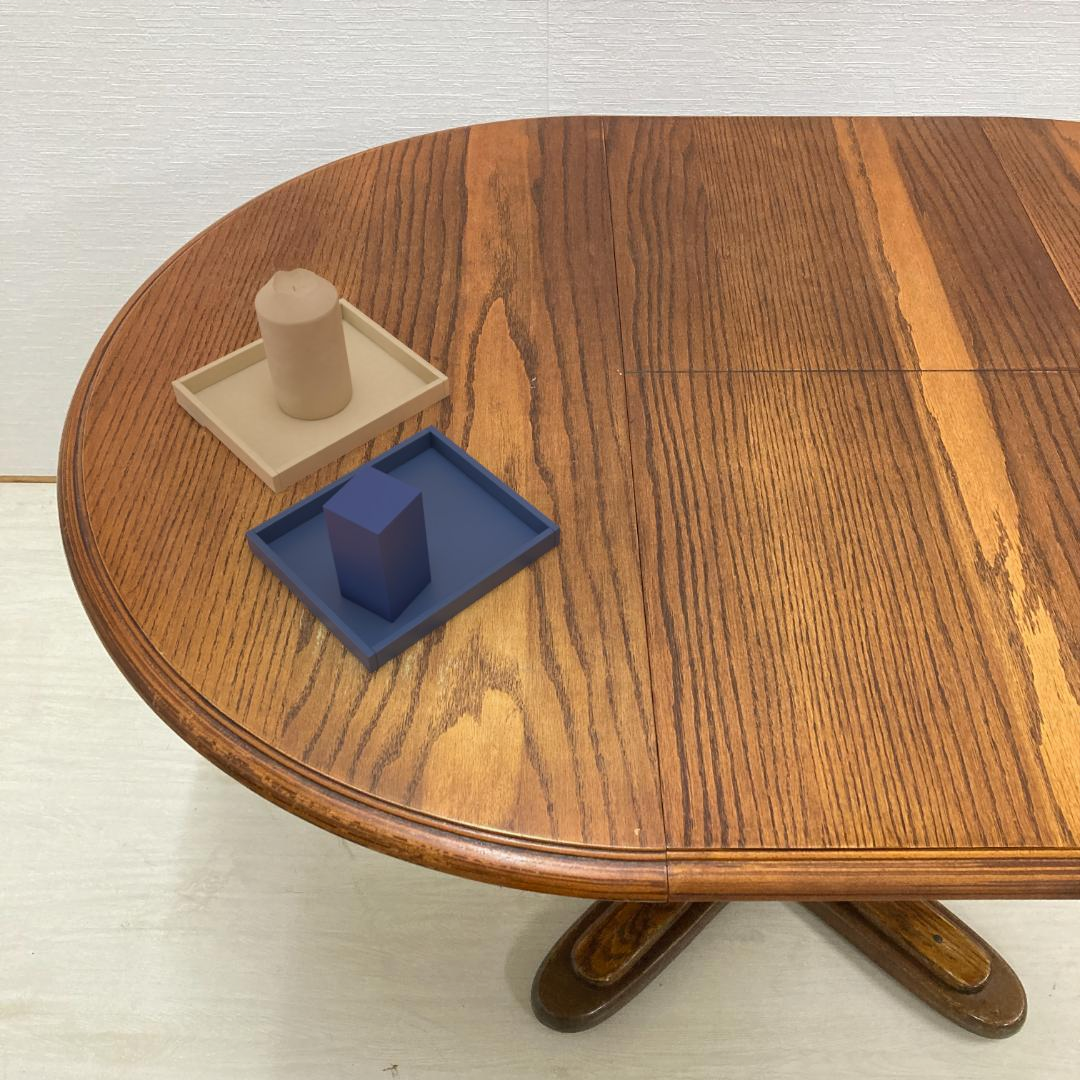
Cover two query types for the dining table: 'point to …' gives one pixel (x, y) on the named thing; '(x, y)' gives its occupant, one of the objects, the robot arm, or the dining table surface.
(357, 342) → the cream tray
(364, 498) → the blue peg
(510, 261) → the dining table surface
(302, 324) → the candle
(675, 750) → the dining table surface
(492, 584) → the blue tray
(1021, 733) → the dining table surface
